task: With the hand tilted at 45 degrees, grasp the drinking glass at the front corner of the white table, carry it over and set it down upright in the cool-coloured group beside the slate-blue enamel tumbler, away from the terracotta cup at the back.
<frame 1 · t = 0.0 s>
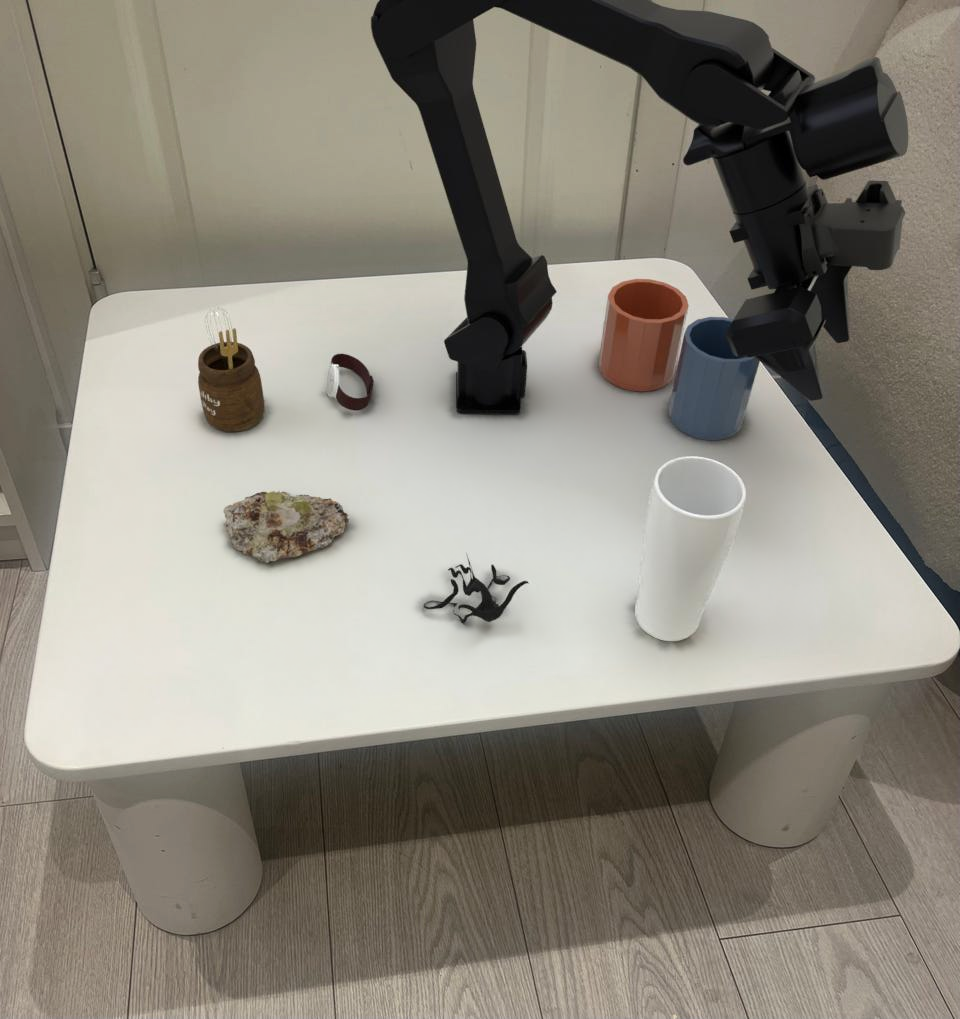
hand: (830, 369, 84), 15 cm above the table, tool tilted 35°, fingers open, 9 cm apart
terracotta cup: (636, 368, 108), on the table
mineral rock: (288, 533, 89), on the table
drinking glass: (665, 620, 83), on the table
watch: (350, 394, 103), on the table
creature: (471, 604, 84), on the table
utensil holder: (236, 417, 100), on the table
blue tumbler: (705, 416, 102), on the table
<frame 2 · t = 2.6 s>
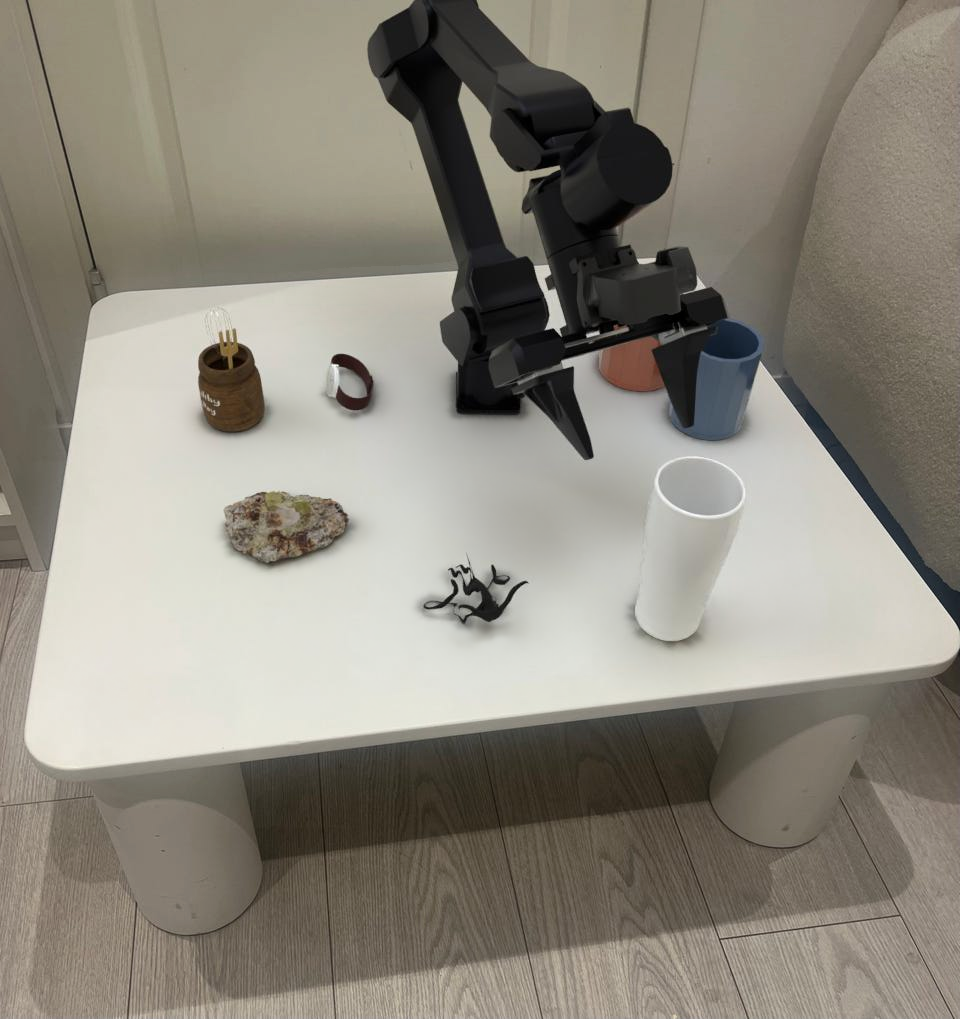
hand: (640, 443, 79), 13 cm above the table, tool tilted 45°, fingers open, 9 cm apart
nothing on the table moved.
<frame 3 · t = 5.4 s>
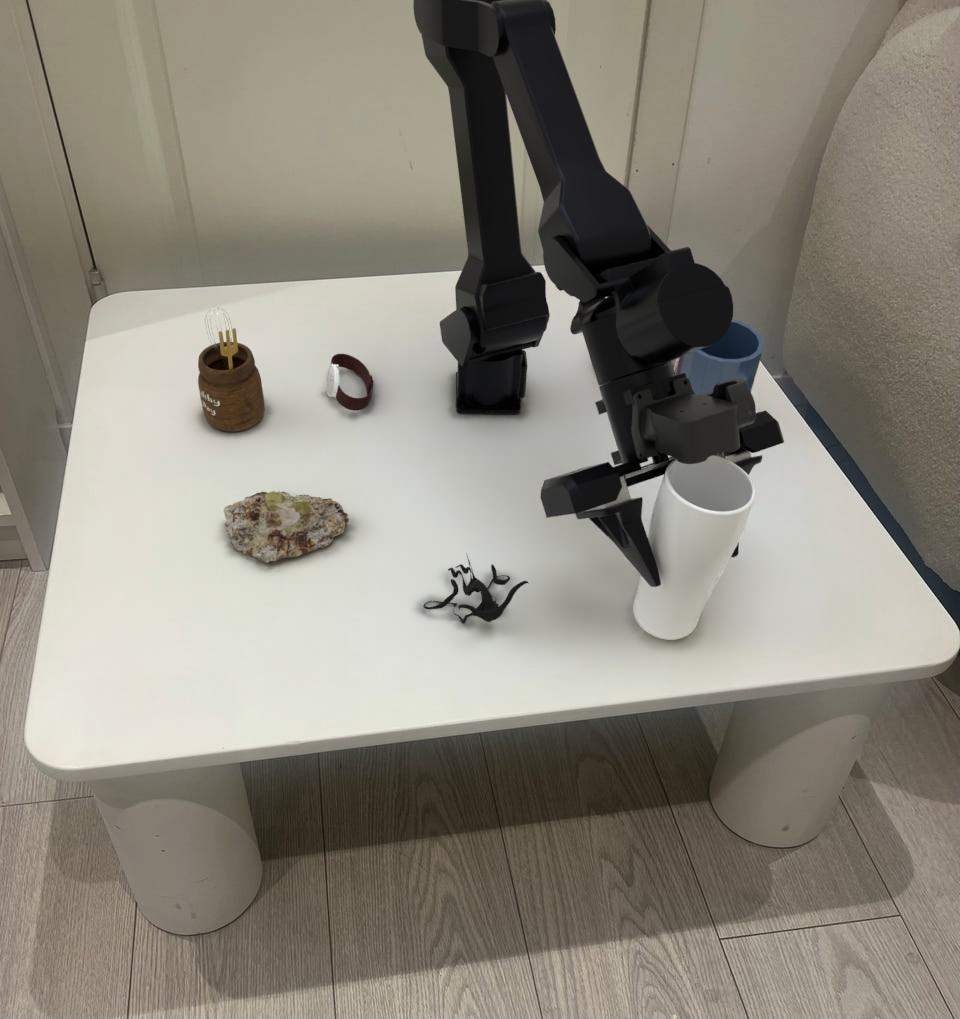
hand: (694, 571, 77), 7 cm above the table, tool tilted 45°, fingers closed on drinking glass, 7 cm apart
drinking glass: (662, 619, 83), on the table, touching gripper
everything else where it was.
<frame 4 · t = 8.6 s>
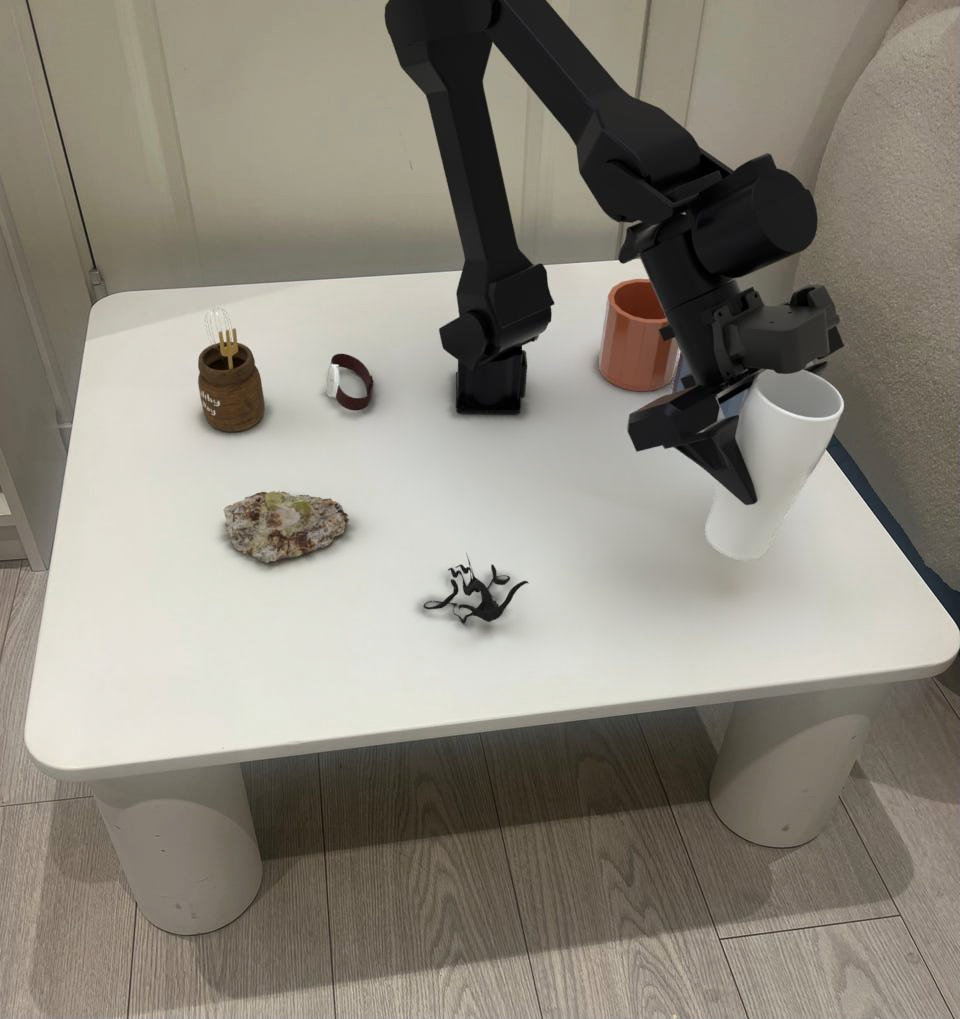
hand: (780, 484, 77), 12 cm above the table, tool tilted 45°, fingers closed on drinking glass, 6 cm apart
drinking glass: (733, 542, 83), point 5 cm above the table, touching gripper
everything else where it was.
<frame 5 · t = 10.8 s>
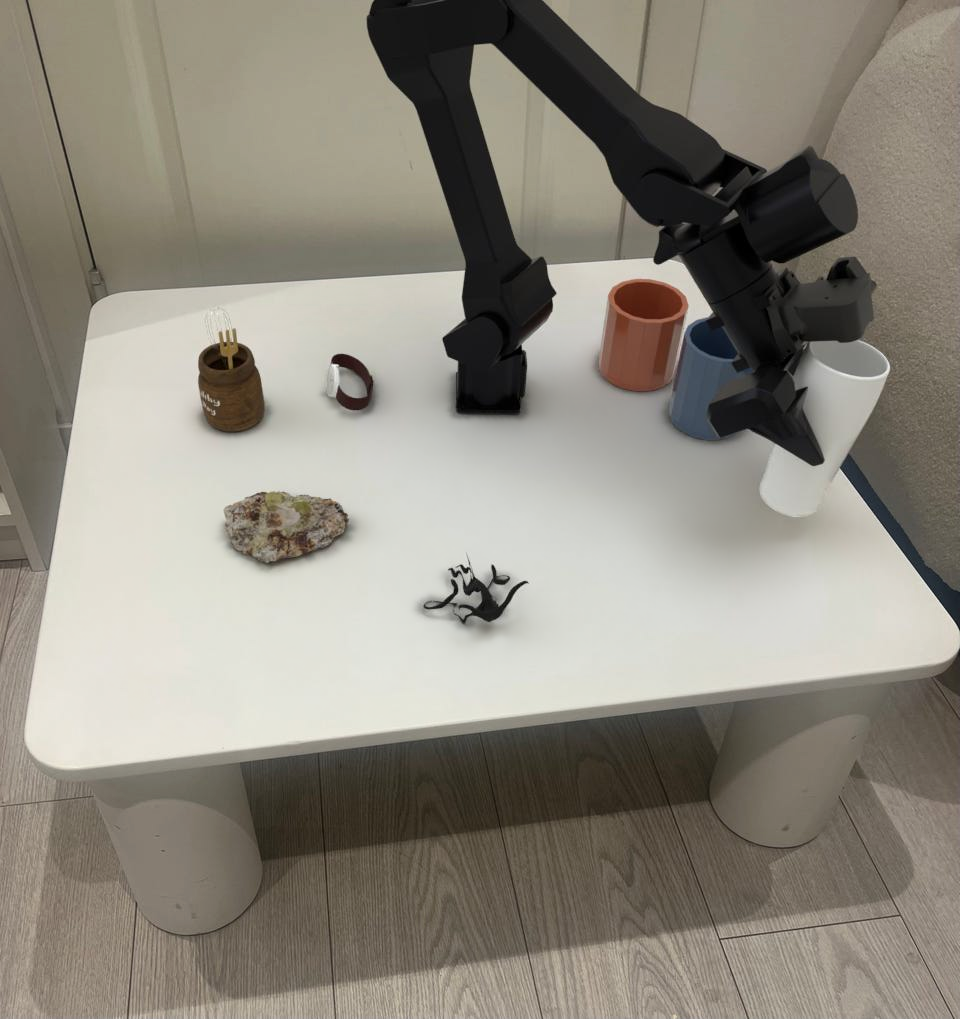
hand: (832, 441, 84), 10 cm above the table, tool tilted 45°, fingers closed on drinking glass, 6 cm apart
drinking glass: (786, 502, 90), point 3 cm above the table, touching gripper
everything else where it was.
when the fingers open (7 cm above the table, at t = 12.2 s): drinking glass stays where it is, on the table.
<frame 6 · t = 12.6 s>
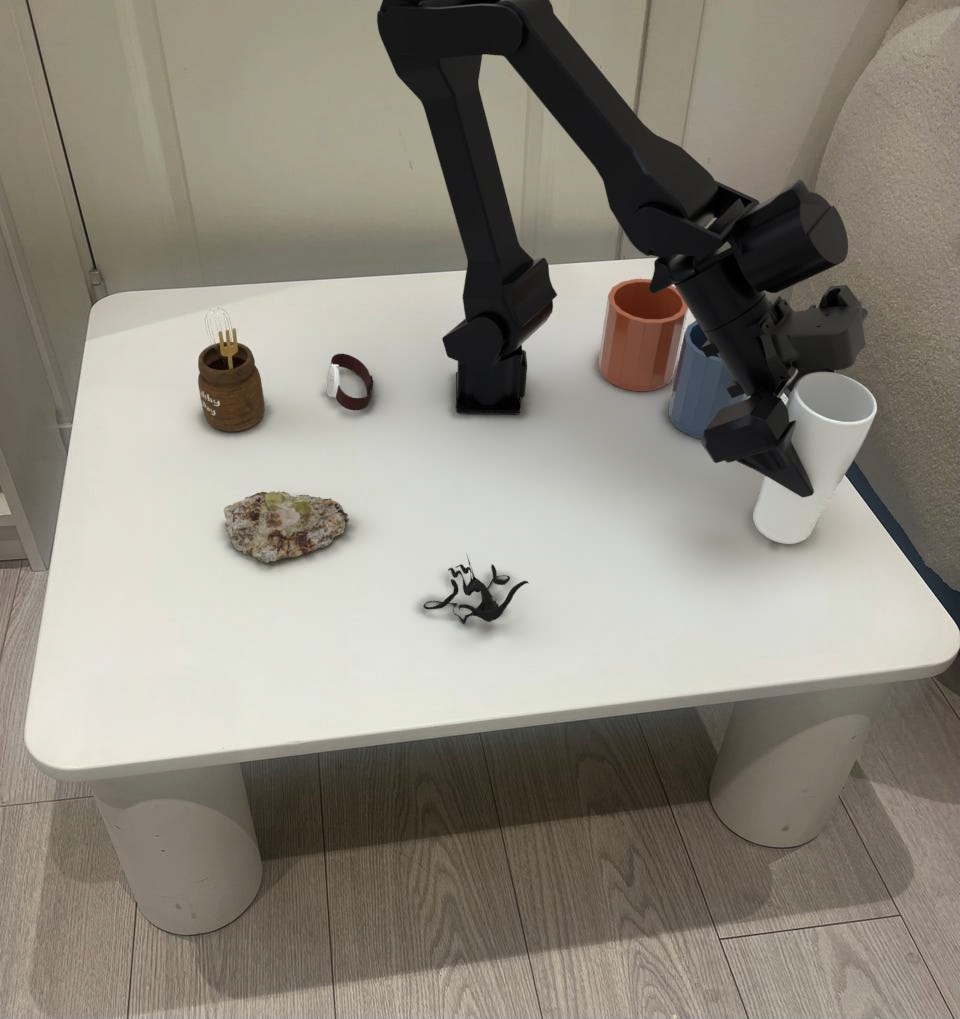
hand: (827, 464, 86), 8 cm above the table, tool tilted 45°, fingers open, 9 cm apart
drinking glass: (779, 526, 92), on the table, touching gripper
everything else where it was.
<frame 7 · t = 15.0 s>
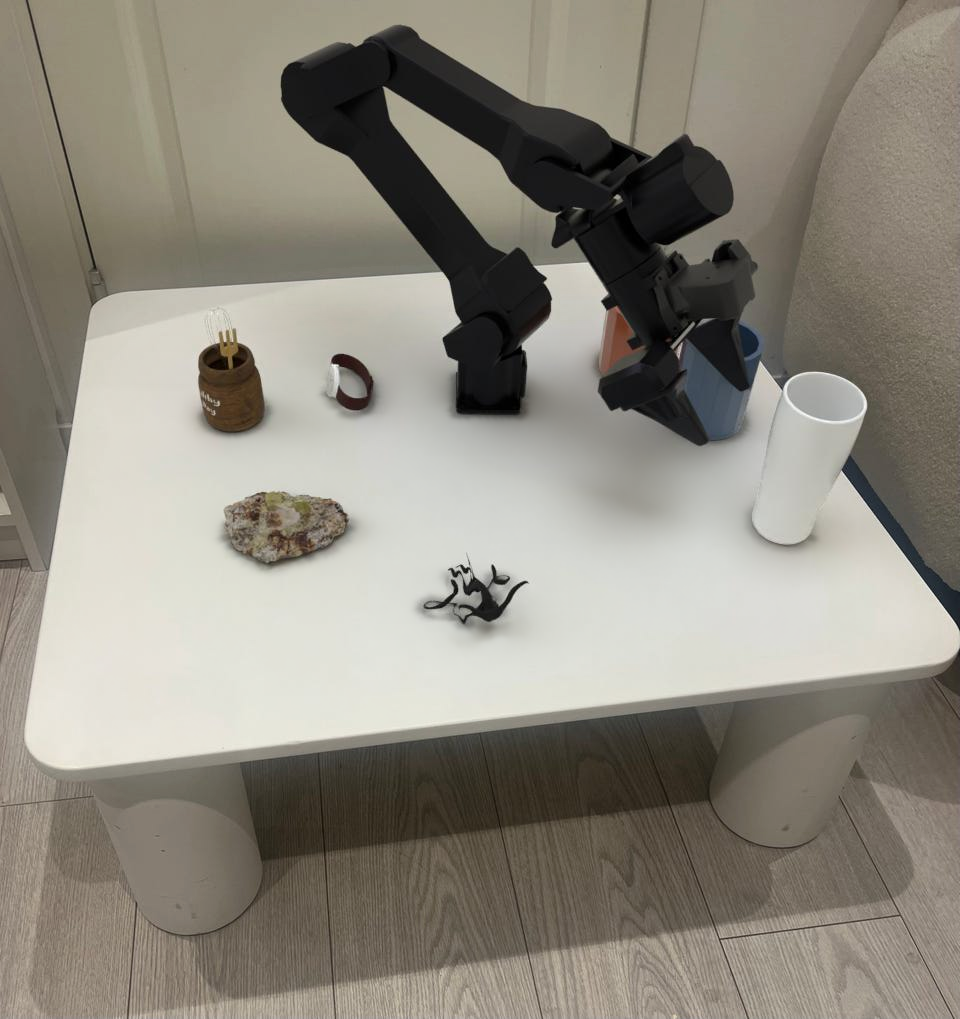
hand: (725, 415, 89), 9 cm above the table, tool tilted 45°, fingers open, 9 cm apart
drinking glass: (779, 527, 92), on the table
everything else where it was.
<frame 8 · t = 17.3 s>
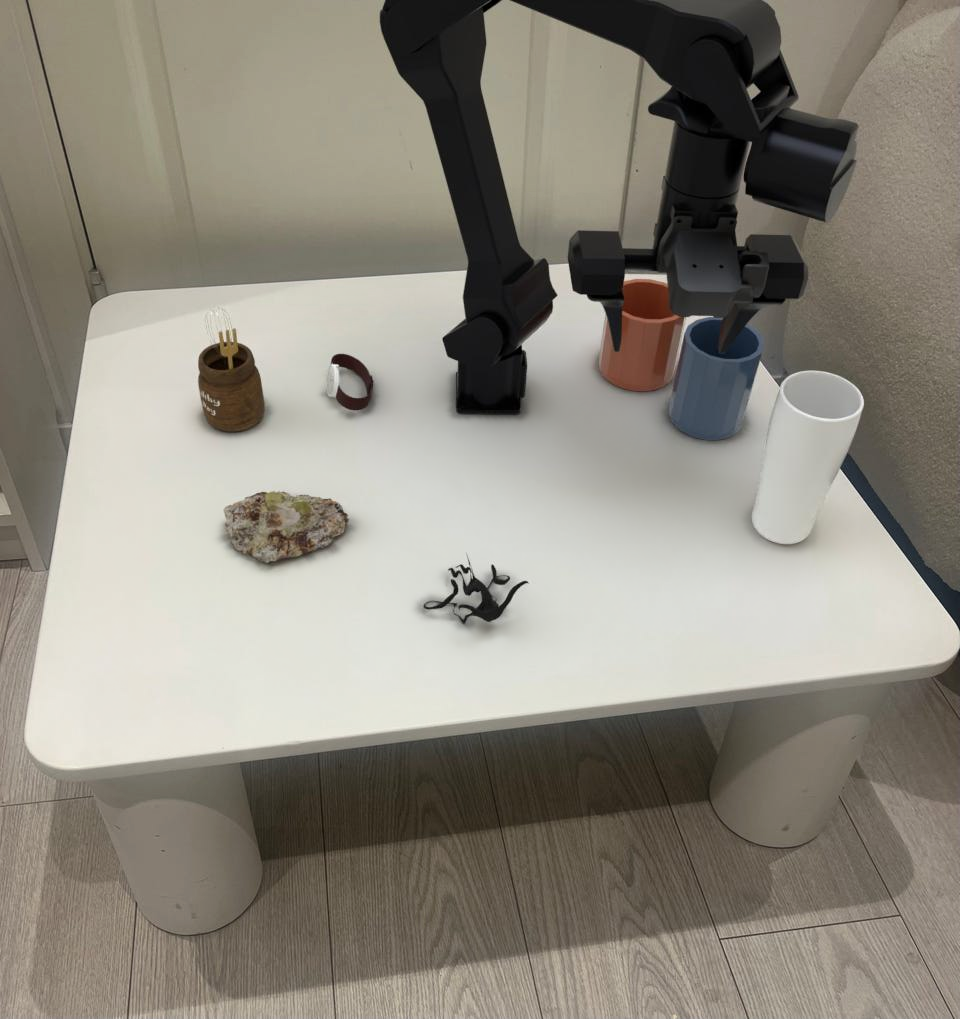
hand: (668, 350, 88), 13 cm above the table, tool pointing down, fingers open, 9 cm apart
nothing on the table moved.
at the end: drinking glass inside the target area on the table beside the blue tumbler (1.2 cm from its centre), on the table; drinking glass tilted 1°; drinking glass touching table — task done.
